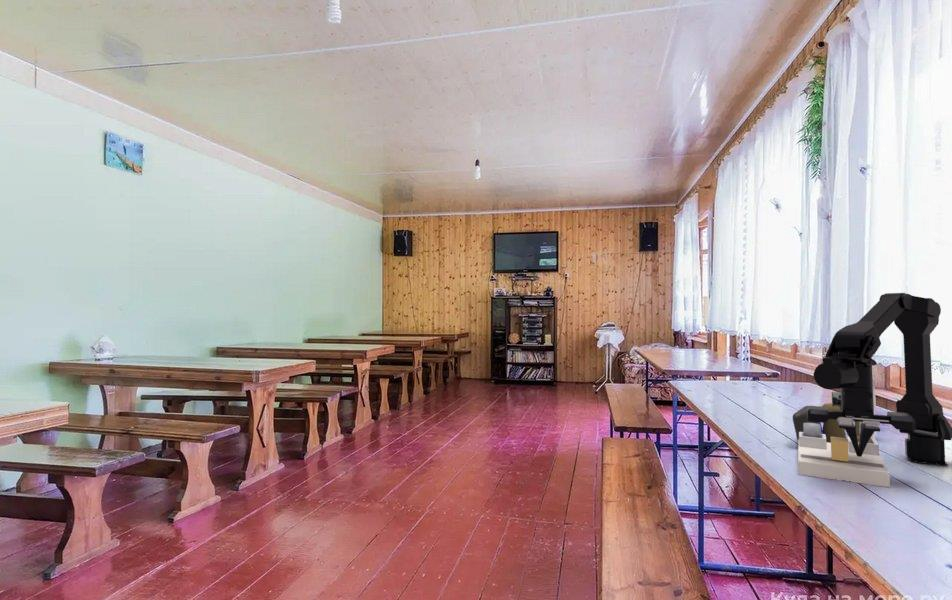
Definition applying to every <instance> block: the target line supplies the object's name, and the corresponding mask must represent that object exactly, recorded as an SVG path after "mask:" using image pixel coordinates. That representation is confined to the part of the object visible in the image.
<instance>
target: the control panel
mask: <svg viewBox="0 0 952 600" xmlns="http://www.w3.org/2000/svg"><path fill="white" fill-rule="evenodd" d="M846 438H847V441H848V460H849V462H847V461H839V460H832V457H831V443H828V442H826V435H825V434H821V438H815V437H806V436H804V432H799V440H798V441H797V444H798V447H797V448H798V450H797V451H798V455H797V456H798V457H797V458H798V459H797V464H798V465H797V468H798V471H797V472H798V475H800V476H801V475H802V476H807V477H814V476H815V477H816V478H822V479H830V480H835V479H839V480H838V481H842V480H846V481H845V482H849V481H851V482H850V483H856V484H864V485H870V486H878V487H883V488H891V476H890V471H889V469H888V468H887V465H886V463H885V462H884V460H883V459H882V456H881V455H880V445H879V443H878V441H877V439H876V438H875V439H872V444H871V443H867V445H866V447H865V450H864V452H863V454H862V456H861V457H859V456H857V455H856V452H855V449H854V447H853V444H852V442H851V439H850V437H848V436H846ZM858 446H859V442H858Z"/></svg>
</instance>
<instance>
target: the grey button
mask: <svg viewBox="0 0 952 600" xmlns="http://www.w3.org/2000/svg"><path fill="white" fill-rule="evenodd" d="M821 426H822V424H821V425H820V424H816V423H803V427H804V436H806V437H815V438H821Z"/></svg>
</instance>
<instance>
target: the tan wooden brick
mask: <svg viewBox="0 0 952 600" xmlns="http://www.w3.org/2000/svg"><path fill="white" fill-rule="evenodd" d="M830 438H831V457H832V460H839V461H847V462H849V460H848V441H847V437H846V438H840V437H831V436H830Z"/></svg>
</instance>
